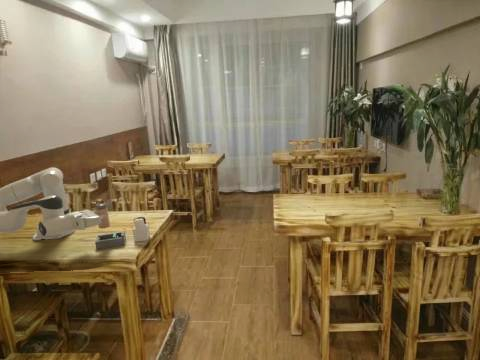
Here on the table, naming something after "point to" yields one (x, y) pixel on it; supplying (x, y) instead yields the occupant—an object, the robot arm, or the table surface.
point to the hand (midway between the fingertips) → (104, 213)
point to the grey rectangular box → (110, 240)
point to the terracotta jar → (99, 211)
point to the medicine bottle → (141, 230)
